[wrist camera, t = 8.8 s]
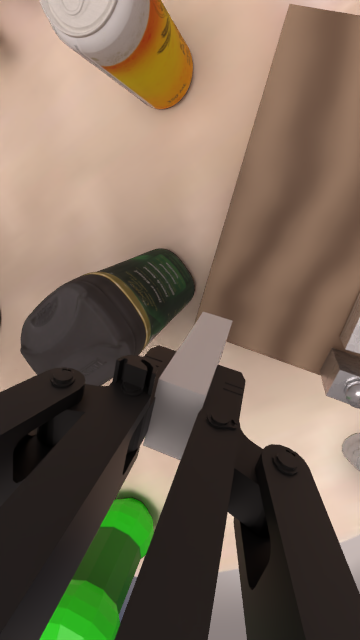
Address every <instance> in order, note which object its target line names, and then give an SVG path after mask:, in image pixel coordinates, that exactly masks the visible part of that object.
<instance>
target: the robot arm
mask: <svg viewBox="0 0 360 640" xmlns="http://www.w3.org/2000/svg"><path fill="white" fill-rule="evenodd" d="M231 324H232V320H229V319H225V318H222V317H219V316H216V315H213V314H209V313H206V312H202V314H201V315H200V317H199V318H198V320H197V322H196V323H195V325H194V326H193V328H192V329H191V331H190V332H189V334H188V335H187V337H186V338H185V340H184V341H183V343H182V344H181V346H180V347H179V349H178V350H177V351H174V350H171V349H168V348H165V347H162V346H157V347H154V348H152V349H150V350H149V351H148V352H147V353H146V355H145V356H144V357H141V356H137V355H127V356H122V357H120V358H118V359H117V360H116V364H115V371H114V377H113V382H112V383H111V384H110V385H109V386H96V385H89V384H85V377H84V375H83V374H82V373H81V372H79V371H77V370H75V369H73V368H66V367H61V368H54V369H50V370H47V371H45V372H43V373H41V374H39V375H37V376H34V377H32V378H30V379H28V380H26V381H24V382H22V383H19V384H17V385H15V386H13V387H11V388H9V389H6V390H4V391H2V392H0V640H39V639H40V638H41V636H42V634H43V632H44V630H45V628H46V626H47V624H48V623H49V621H50V619H51V617H52V615H53V613H54V611H55V610H56V608H57V606H58V604H59V602H60V600H61V598H62V597H63V595H64V593H65V591H66V589H67V587H68V585H69V583H70V582H71V580H72V578H73V576H74V574H75V572H76V570H77V569H78V567H79V565H80V563H81V561H82V559H83V557H84V555H85V554H86V552H87V550H88V548H89V546H90V544H91V542H92V541H93V539H94V537H95V535H96V533H97V531H98V529H99V528H100V526H101V524H102V522H103V520H104V518H105V516H106V514H107V513H108V511H109V509H110V507H111V505H112V503H113V501H114V500H115V498H116V496H117V494H118V492H119V490H120V488H121V486H122V485H123V483H124V481H125V479H126V477H127V475H128V473H129V472H130V470H131V468H132V466H133V464H134V462H135V460H136V459H137V456H138V452H139V448H140V445H141V443H142V441H143V439H144V437H145V440H144V444H143V445H144V446H146V447H149V448H151V449H154V450H156V451H159V452H161V453H164V454H166V455H169V456H171V457H174V458H176V459H179V460H181V461H180V464H179V466H178V469H177V472H176V474H175V477H174V480H173V483H172V485H171V488H170V491H169V493H168V496H167V499H166V501H165V504H164V507H163V510H162V512H161V515H160V518H159V520H158V523H157V526H156V529H155V531H154V534H153V537H152V539H151V542H150V545H149V547H148V550H147V553H146V556H145V558H144V561H143V564H142V566H141V569H140V572H139V575H138V577H137V580H136V583H135V585H134V588H133V591H132V594H131V596H130V600H129V602H128V604H127V607H126V610H125V612H124V615H123V618H122V621H121V623H120V626H119V629H118V631H117V634H116V637H115V639H114V640H208V634H209V628H210V621H211V615H212V609H213V602H214V596H215V589H216V583H217V576H218V570H219V564H220V557H221V551H222V545H223V538H224V532H225V525H226V519H227V512H229V513H230V514H231V515H232V516H234V530H235V538H236V547H237V556H238V565H239V573H240V582H241V591H242V599H243V608H244V616H245V625H246V634H247V640H360V594H359V591H358V589H357V586H356V584H355V581H354V579H353V576H352V574H351V571H350V569H349V566H348V564H347V562H346V559H345V556H344V554H343V551H342V549H341V547H340V544H339V541H338V539H337V536H336V534H335V531H334V529H333V526H332V524H331V521H330V519H329V516H328V514H327V511H326V509H325V506H324V504H323V501H322V499H321V496H320V494H319V491H318V489H317V486H316V484H315V481H314V479H313V476H312V474H311V472H310V469H309V467H308V465H307V464H306V462H305V460H304V459H302V458H301V457H300V456H299V455H298V454H297V453H296V452H294V451H293V450H291V449H289V448H287V447H284V446H282V445H273V444H271V445H269V446H266V447H265V448H264V449H262V448H260V447H259V446H257V445H256V444H254V443H253V442H252V441H250V440H249V439H248V438H247V437H246V436H245V435H244V433H243V432H242V430H241V428H240V423H239V417H240V411H241V405H242V399H243V393H244V387H245V379H244V377H243V375H242V373H241V372H238V371H235V370H232V369H229V368H226V367H223V366H220V365H219V362H220V359H221V356H222V353H223V350H224V346H225V343H226V340H227V337H228V334H229V331H230V327H231Z"/></svg>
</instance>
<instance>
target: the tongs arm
mask: <svg viewBox="0 0 360 640" xmlns="http://www.w3.org/2000/svg"><path fill="white" fill-rule="evenodd" d="M340 339H341V341H342V344H343V346H344V348H345V350H349V351H352V352H356V353H359V354H360V292H359V295H358V297H357V299H356V302H355V304H354V306H353V308H352V311H351V313H350V315H349V317H348V320H347V322H346V324H345V326H344V329H343V331H342V333H341V336H340Z"/></svg>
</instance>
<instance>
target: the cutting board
mask: <svg viewBox="0 0 360 640" xmlns="http://www.w3.org/2000/svg"><path fill="white" fill-rule="evenodd" d="M359 292H360V16H359V15H353V14H347V13H341V12H335V11H329V10H323V9H317V8H311V7H305V6H299V5H293V4H290V5H289V8H288V11H287V15H286V18H285V22H284V25H283V28H282V32H281V35H280V38H279V42H278V45H277V48H276V52H275V55H274V58H273V62H272V65H271V69H270V72H269V75H268V79H267V82H266V85H265V89H264V92H263V95H262V99H261V102H260V105H259V109H258V112H257V116H256V119H255V122H254V126H253V129H252V132H251V136H250V139H249V142H248V146H247V149H246V152H245V156H244V159H243V163H242V166H241V169H240V173H239V176H238V179H237V183H236V186H235V189H234V193H233V196H232V199H231V203H230V206H229V209H228V213H227V216H226V220H225V223H224V226H223V230H222V233H221V236H220V240H219V243H218V246H217V250H216V253H215V256H214V260H213V263H212V267H211V270H210V273H209V277H208V280H207V283H206V287H205V290H204V293H203V297H202V300H201V303H200V307H199V310H198V314H197V317H196V320H195V323H196V322H197V320H198V318H199V317H200V315H201V314H202V312H206V313H209V314H213V315H216V316H219V317H222V318H225V319H229V320H232V324H231V327H230V331H229V334H228V337H227V340H226V341H227V342H230V343H232V344H235V345H238V346H241V347H244V348H246V349H249V350H252V351H255V352H257V353H260V354H263V355H266V356H268V357H271V358H274V359H277V360H280V361H282V362H285V363H288V364H291V365H293V366H296V367H299V368H302V369H305V370H307V371H310V372H313V373H316V374H318V375H321V373H320V369H321V367H322V366H323V364H324V362H325V360H326V358H327V356H328V354H329V352H330V350H331V348H335V349H338V350H340V351H343V352H346V353H349V354H352V355H355V356H358V357H360V354H359V353H356V352H352V351H349V350H345V348H344V346H343V344H342V341H341V339H340V336H341V333H342V331H343V329H344V326H345V324H346V322H347V320H348V317H349V315H350V313H351V311H352V308H353V306H354V304H355V302H356V299H357V297H358V295H359ZM194 325H195V324H194Z"/></svg>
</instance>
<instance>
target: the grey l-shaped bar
mask: <svg viewBox="0 0 360 640" xmlns="http://www.w3.org/2000/svg"><path fill="white" fill-rule="evenodd" d="M320 373H321V377H322V381H323V386H324V390H325V394H326V396H329V397H331V398H334V399H337V400H339V401H342V402H345V403H347V404H350V405H351V406H353V407H355V408H360V357H358V356H355V355H352V354H349V353H346V352H343V351H340V350H338V349H335V348H331V350H330V352H329V354H328V356H327V358H326V360H325V362H324V364H323V366H322V367H321V369H320Z"/></svg>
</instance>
